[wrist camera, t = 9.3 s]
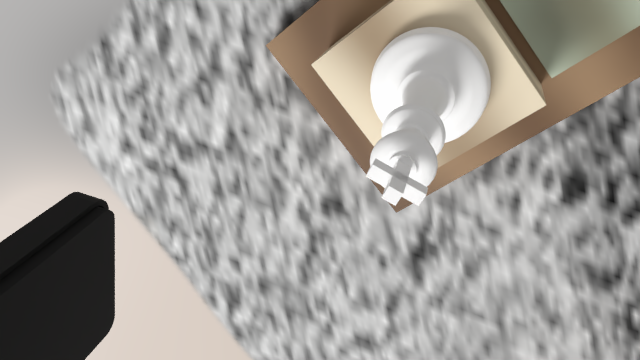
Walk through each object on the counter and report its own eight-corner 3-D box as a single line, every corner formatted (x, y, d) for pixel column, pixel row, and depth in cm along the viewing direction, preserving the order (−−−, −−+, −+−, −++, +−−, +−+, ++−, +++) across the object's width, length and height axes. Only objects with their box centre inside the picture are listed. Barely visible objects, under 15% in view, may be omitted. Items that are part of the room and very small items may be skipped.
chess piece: (406, 4, 22) (352, 71, 14) (515, 64, 22) (529, 170, 14) (351, 105, 25) (277, 217, 16) (449, 160, 25) (425, 301, 16)
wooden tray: (622, -253, 21) (649, -285, 17) (761, -3, 23) (811, 16, 19) (274, 40, 29) (242, 60, 25) (399, 202, 31) (387, 242, 28)
